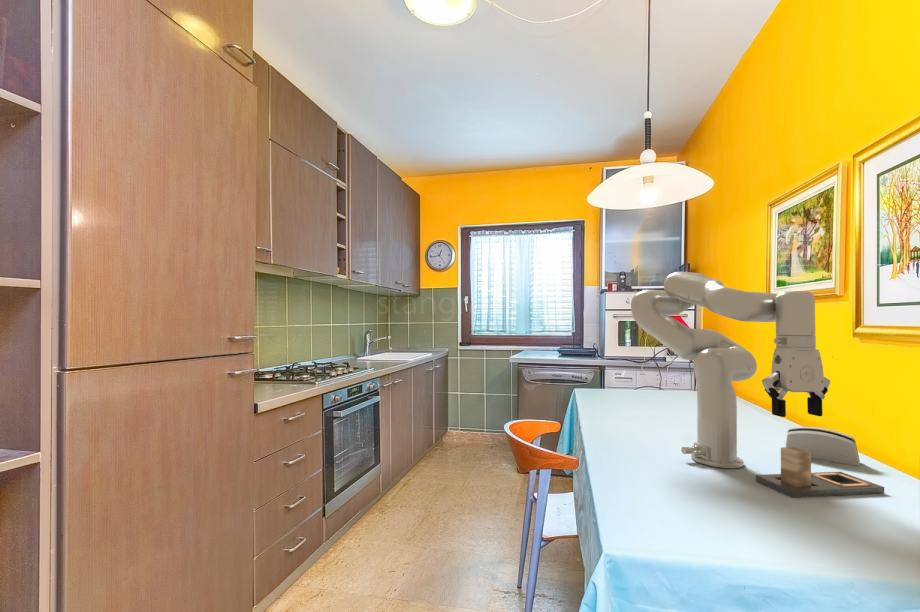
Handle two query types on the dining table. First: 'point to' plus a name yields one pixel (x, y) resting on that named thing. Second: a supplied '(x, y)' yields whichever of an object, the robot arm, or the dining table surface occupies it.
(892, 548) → the dining table surface
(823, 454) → the grey slotted arched block
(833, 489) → the grey flat holed plate
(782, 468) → the plug
